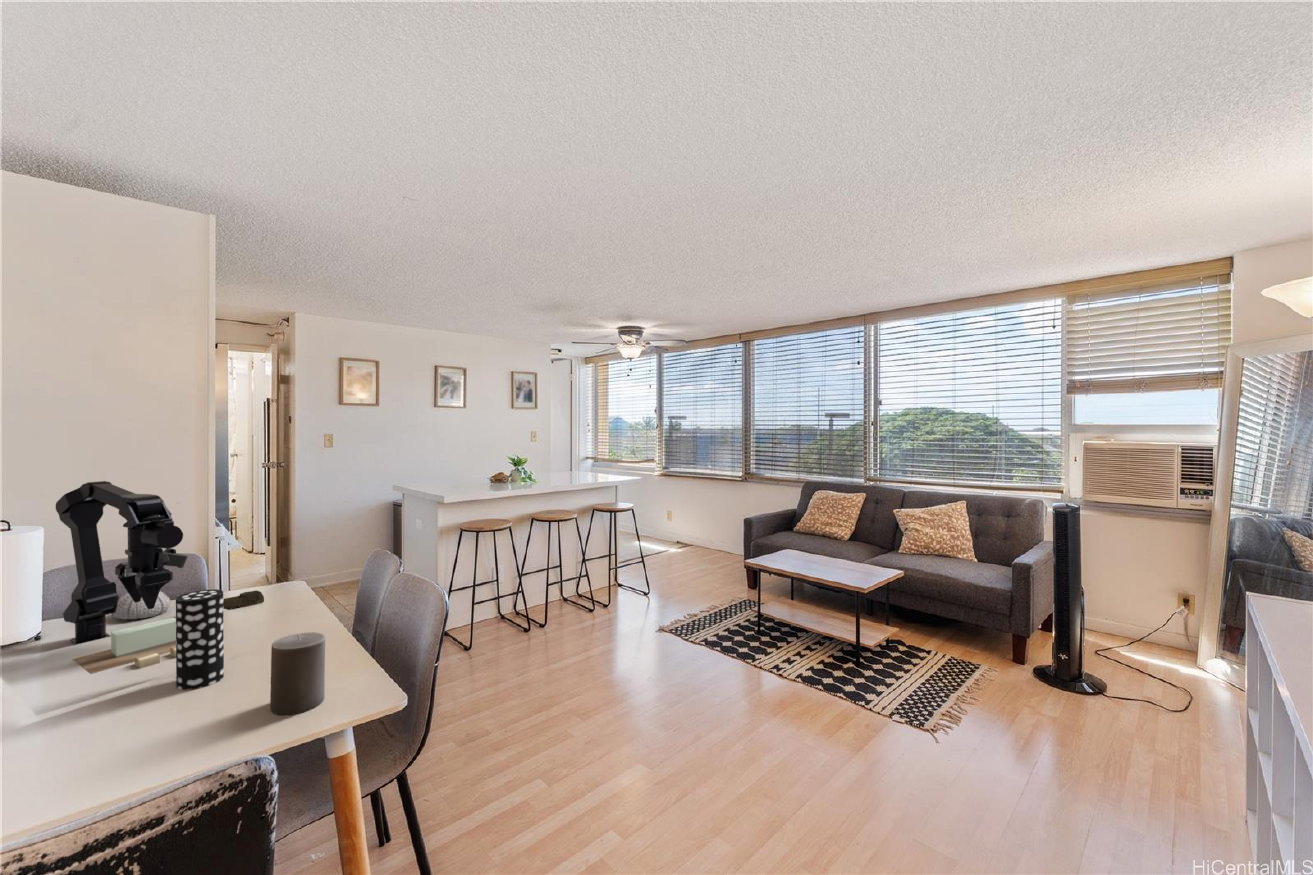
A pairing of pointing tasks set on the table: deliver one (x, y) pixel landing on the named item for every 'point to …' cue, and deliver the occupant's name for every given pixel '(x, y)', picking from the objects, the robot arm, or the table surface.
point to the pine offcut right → (173, 651)
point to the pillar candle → (297, 673)
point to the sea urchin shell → (140, 607)
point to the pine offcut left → (147, 660)
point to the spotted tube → (199, 639)
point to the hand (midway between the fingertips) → (143, 605)
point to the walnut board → (114, 659)
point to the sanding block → (143, 637)
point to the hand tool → (244, 600)
